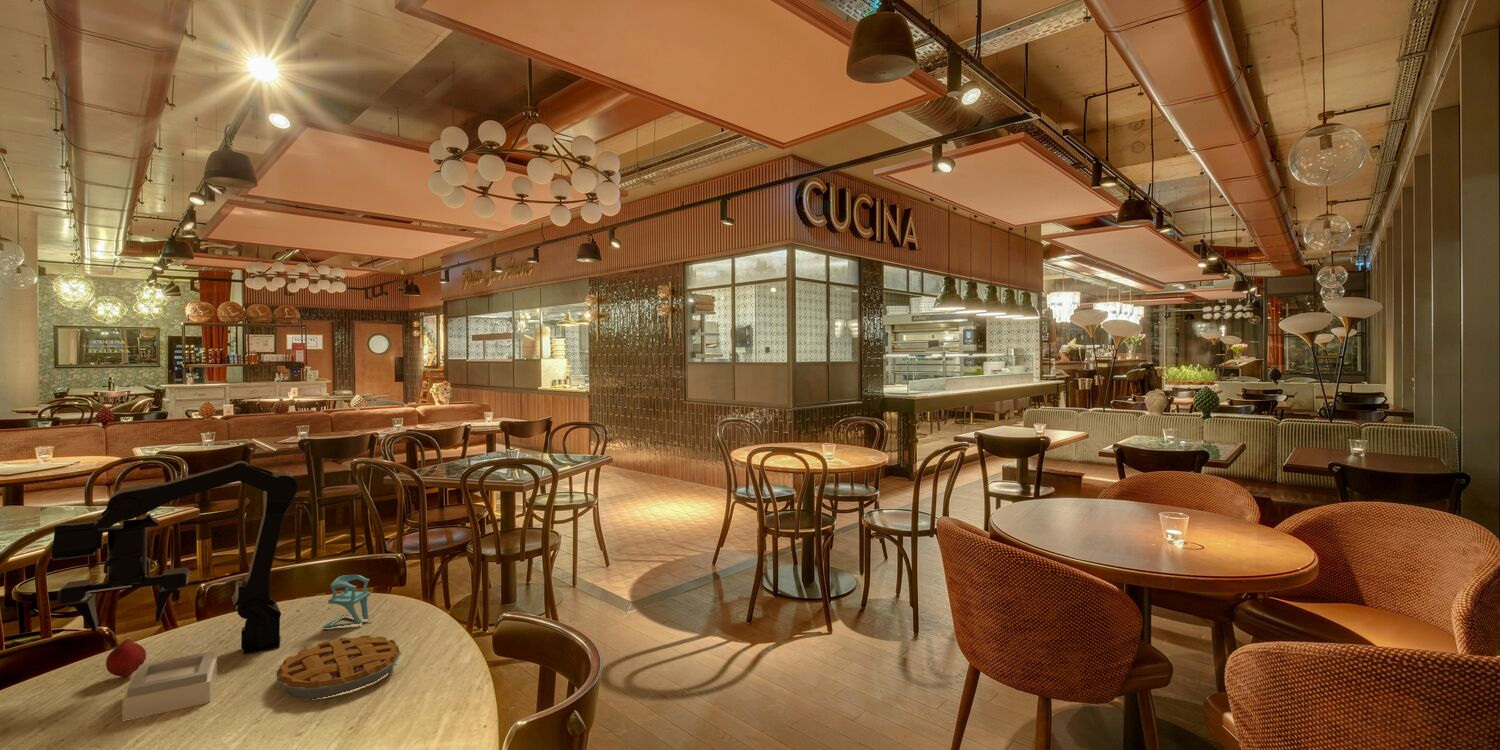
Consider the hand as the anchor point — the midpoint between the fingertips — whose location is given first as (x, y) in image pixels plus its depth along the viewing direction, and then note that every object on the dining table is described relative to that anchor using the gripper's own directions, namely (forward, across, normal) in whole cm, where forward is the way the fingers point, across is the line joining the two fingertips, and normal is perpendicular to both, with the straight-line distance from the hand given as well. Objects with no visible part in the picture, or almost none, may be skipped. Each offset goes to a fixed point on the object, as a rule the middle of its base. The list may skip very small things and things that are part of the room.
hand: (127, 626), depth 129 cm
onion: (+11, 0, 0) cm, 11 cm away
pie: (+11, -36, +22) cm, 44 cm away
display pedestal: (+10, -9, +15) cm, 20 cm away
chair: (+11, -39, -7) cm, 41 cm away
